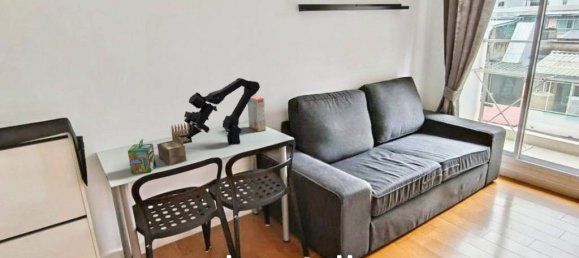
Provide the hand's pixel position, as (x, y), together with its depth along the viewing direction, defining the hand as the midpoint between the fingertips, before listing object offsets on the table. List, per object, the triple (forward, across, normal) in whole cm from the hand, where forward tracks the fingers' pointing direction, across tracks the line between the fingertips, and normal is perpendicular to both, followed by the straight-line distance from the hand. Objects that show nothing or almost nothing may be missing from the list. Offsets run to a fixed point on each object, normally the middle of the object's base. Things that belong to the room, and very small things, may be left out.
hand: (187, 138), depth 178 cm
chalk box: (+24, +2, -11) cm, 26 cm away
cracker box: (-30, -13, +45) cm, 55 cm away
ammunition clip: (+3, -21, +10) cm, 24 cm away
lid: (+7, 0, -5) cm, 9 cm away
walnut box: (+13, 0, 0) cm, 13 cm away
